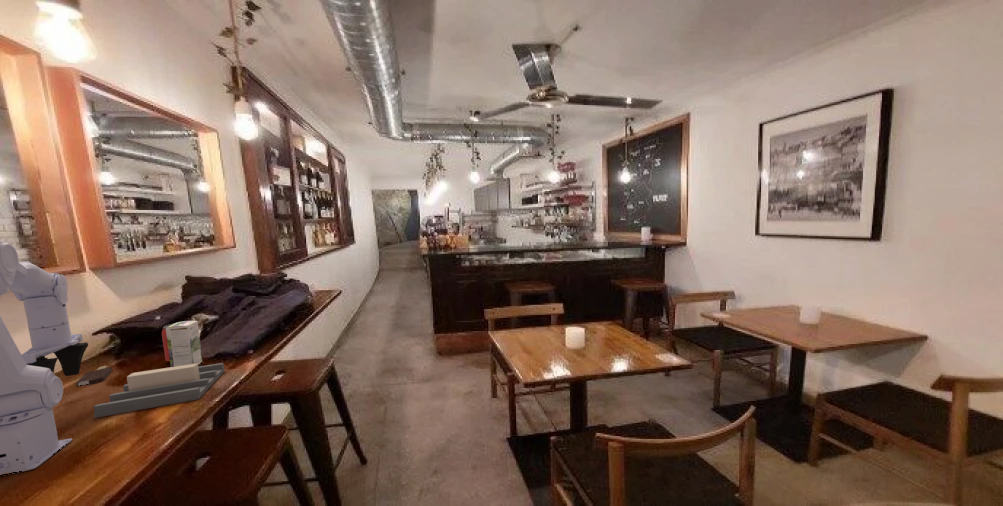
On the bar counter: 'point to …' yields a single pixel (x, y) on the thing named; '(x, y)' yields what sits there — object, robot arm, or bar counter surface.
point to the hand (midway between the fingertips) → (59, 381)
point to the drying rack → (160, 393)
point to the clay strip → (163, 377)
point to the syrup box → (184, 343)
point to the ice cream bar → (94, 376)
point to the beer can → (165, 342)
